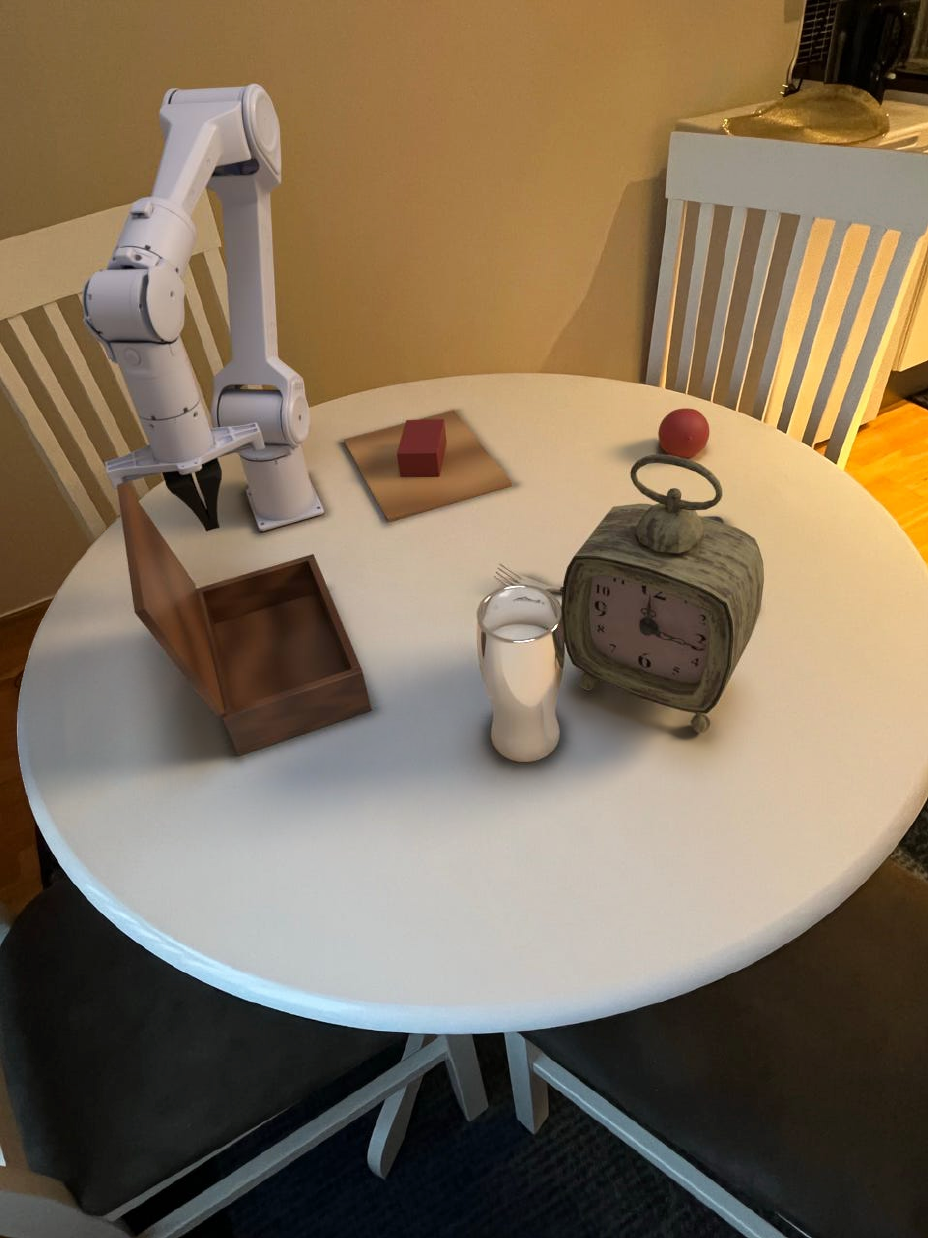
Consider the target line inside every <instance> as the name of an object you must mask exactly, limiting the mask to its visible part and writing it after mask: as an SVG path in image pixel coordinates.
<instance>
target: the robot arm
mask: <svg viewBox="0 0 928 1238" xmlns="http://www.w3.org/2000/svg"><path fill="white" fill-rule="evenodd" d="M158 119H159V125H160V130H161V134H162V138H163V141H164V146H163V150H162V154H161V158H160V161H159V165H158V168H157V172H156V176H155V179H154V183H153V186H152V187H153V188H152V189H151V190H152V191H151V193H150V196H146V197H141V198H139V199H137V200H136V201H133V202H132V205H131V207H130V209H129V212H128V215H127V217H126V219H125V222H124V224H123V226H122V229H121V231H120V234H119V236H118V238H117V242H116V244H115V247H114V249H113V251H112V254H111V256H110V259H109V261H108V264H107V266H106V269H99V270H98V271H95V272H94V273H93V274H92V275H91V277H89V278H88V279H87V280H86V281H85V282H84V285H83V287H82V288H83V289H82V293H81V303H82V304H81V305H82V311H83V315H84V318H82V319H83V323H84V326H85V327H86V329H87V331H88V332H89V334H90V335H91V336H92V337H93V338H94V339H95V340H96V341H97V342H99V343H100V345H102V347H103V348H104V351H105V353H106V356H107V358H108V360H111V362H112V363H114V364H117V366H118V369H119V372H120V374H121V376H122V379H123V382H124V384H125V386H126V389H127V391H128V394H129V396H130V399H131V402H132V404H133V407H134V409H135V412H136V414H137V417H138V419H139V422H140V425H141V428H142V429H143V432H144V435H145V437H146V440H147V443H148V444H146V445H145V446H143V447H140V448H138V449H136V450H133V451H131V452H129V453H127V454H124V455H122V456H120V457H117V458H114V459H111V460H108V461H105V462H104V466H105V473H106V475H107V477H108V480H109V482H110V485H111V486H112V489H113V490H116V489H117V485H118V484H120V483H123V482H126V483H129V482H132V481H137V480H140V479H144V478H147V477H151V476H155V475H158V474H162V477H163V479H164V482H165V486H166V488H167V489H168V490H169V492H170V493H171V494H173V495H174V496H175V497H177V498H178V499H179V500H180V501H182V502H183V503H184V504H185V506H187V507H188V508H189V509H190V510H191V512H192V513H193V514H194V515H195V516H196V517H197V519H198V520H199V522H200V523H201V525H202V526H203V528H204V530H205V532H211V531H214V530H217V529H219V528H220V524H219V518H218V502H219V501H218V500H219V493H220V486H221V482H222V480H223V479H222V478H223V470H222V467H221V464H220V461H219V458H221V457H225V456H229V455H232V454H238V456H239V460H240V462H241V466H242V470H243V472H244V475H245V478H246V482H247V486H248V488H246V490H245V493H246V495H247V498H248V501H249V504H250V507H251V511H252V512H253V513H252V514H253V517H254V519H255V521H256V524H257V527H258V530H259V531H260V532H267V531H269V530H272V529H275V528H279V527H282V526H286V525H290V524H293V523H297V522H301V521H303V520H307V519H310V518H313V517H317V516H321V515H323V514H324V513H325V510H324V508H323V505H322V503H321V501H320V498H319V496H318V495H317V493H316V490H315V488H314V485H313V483H312V481H311V479H310V475H309V472H308V471H309V470H308V467H307V464H306V459H305V456H304V452H303V447H302V444H303V443H304V442H305V440H306V438H307V437H308V434H309V430H310V426H311V425H310V424H311V414H310V413H311V412H310V406H309V402H308V400H307V396H306V389H305V383H304V378H303V377H302V376H301V375H300V374H299V373H298V372H297V371H295V370H294V369H293V368H292V367H290V366H289V365H288V364H286V363H285V362H284V361H282V360H281V359H280V357H279V347H278V345H279V344H278V327H277V326H278V324H277V307H276V305H277V303H276V286H275V285H276V284H275V283H276V282H275V268H274V267H275V266H274V247H273V244H274V243H273V228H272V227H273V224H272V204H271V203H272V202H271V192H272V191H273V190H275V189H276V188H277V187H278V186H280V185H281V183H282V148H281V147H282V146H281V145H282V144H281V126H280V121H279V117H278V114H277V113H276V110H275V106H274V104H273V101H272V99H271V97H270V96H269V94H268V93H267V91H266V90H265V89H264V88H263V87H262V86H261V85H260V84H258V83H251V84H248V85H247V86H246V85H245V86H228V87H227V86H226V87H224V86H223V87H209V88H192V89H191V88H190V89H188V88H187V89H181V88H178V87H174V88H170V89H168V90H167V91H166V92H165V94H164V96H163V99H162V102H161V105H160V109H159V111H158ZM205 189H207V190H209V191H211V192H214V193H215V194H216V196H217V197H218V199H219V201H220V202H221V208H222V211H221V212H222V224H223V239H224V240H223V241H224V256H225V270H226V285H227V286H226V287H227V301H228V315H229V317H228V319H229V331H230V346H231V348H230V349H231V360H230V361H229V362H228V363H226V365H225V366H224V367H223V368H221V370H219V371H218V372H217V373H216V374H215V375H214V377H213V378H212V379H213V389H212V390H213V392H212V393H213V394H212V401H211V405H210V422H211V425H212V426H211V427H210V424H209V421H208V418H207V415H206V411H205V409H204V406H203V403H202V399H201V397H200V394H199V391H198V388H197V385H196V382H195V378H194V376H193V372H192V369H191V366H190V364H189V359H188V356H187V353H186V351H185V348H184V345H183V341H182V339H181V335H180V334H181V332H182V330H183V328H184V325H185V315H186V314H185V313H186V312H185V295H186V291H185V289H186V286H185V284H184V282H183V280H184V277H185V274H186V271H187V269H188V266H189V263H190V260H191V257H192V255H193V252H194V249H195V246H196V243H197V240H198V232H197V229H196V225H195V223H194V222H193V220H192V218H191V217H192V215H193V213H194V211H195V209H196V207H197V206H198V204H199V201H200V199H201V197H202V195H203V193H204V191H205ZM245 385H246V386H248V385H249V386H255V385H256V386H270V387H271V386H272V387H274V388H276V389H268V388H267V389H266V388H265V389H264V388H263V389H262V388H260V389H259V388H242V387H244V386H245ZM192 473H194V475H195V479H196V482H197V484H198V487H199V489H200V492H201V495H202V497H203V499H202V497H201V495H200V493H199V490H198V488H197V485H196V482H195V479H194V476H193V474H192ZM117 490H118V489H117Z"/></svg>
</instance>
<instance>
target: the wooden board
mask: <svg viewBox="0 0 928 1238" xmlns="http://www.w3.org/2000/svg"><path fill="white" fill-rule="evenodd" d="M426 419H444V422H445V431H446V441H447V443H446V448H445V453H444V457H443V462H442V467H441V472H440V476H439V477H400V471H399V465H398V458H397V451H398V447H399V444H400V440H401V437H402V433H403V430H404V426H405V423H406V422H404V423H401V424H396V425H393V426H389V427H385V428H382V429H378V430H375V431H371V432H367V433H363V434H360V435H356V436H352V437H349V438H345V439H343V443H344V444H345V446H346V448H347V450H348V452H349V453H350V455H351V457H352V459H353V461H354V463H355V464H356V466H357V468H358V470H359V471H360V474H361V475H362V477H363V479H364V480H365V483H366V485H367V486H368V488H369V490H370V492H371V493H372V495H373V496H374V499H375V500H376V502H377V504H378V506H379V507H380V510H381V511H382V513H383V515H384V517H385V518H386V520H387V522H388V523H390V522H394V521H397V520H400V519H404V518H406V517H411V516H414V515H417V514H420V513H424V512H428V511H430V510H434V509H437V508H441V507H445V506H448V505H451V504H454V503H457V502H461V501H464V500H468V499H471V498H475V497H478V496H482V495H484V494H488V493H491V492H494V491H498V490H502V489H505V488H508V487H512V486H513V482H512V481H511V480H510V479H509V477H508V476H507V475H506V473H505V472H504V470H502V468H501V467H500V466H499V464H498V463H497V462H496V461H495V459H494V458H493V457H492V455H490V453H489V452H488V451H487V449H486V448H485V447H484V445H482V443H481V442H480V440H479V439H478V438H477V437H476V435H474V433H473V432H472V431H471V430H470V428H469V427H468V426H467V424H466V423H465V422H464V420H463V419H462V418H461V417H460V416H459V414H458V412H456V411H455V409H452V410H448V411H444V412H441V413H438V414H434V415H430V416H427V417H423V418H419V419H418V420H426Z"/></svg>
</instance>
